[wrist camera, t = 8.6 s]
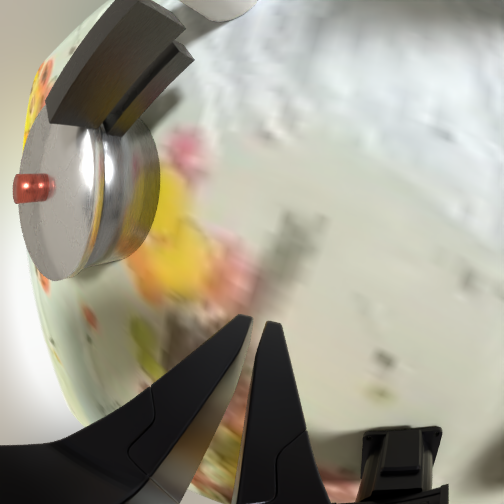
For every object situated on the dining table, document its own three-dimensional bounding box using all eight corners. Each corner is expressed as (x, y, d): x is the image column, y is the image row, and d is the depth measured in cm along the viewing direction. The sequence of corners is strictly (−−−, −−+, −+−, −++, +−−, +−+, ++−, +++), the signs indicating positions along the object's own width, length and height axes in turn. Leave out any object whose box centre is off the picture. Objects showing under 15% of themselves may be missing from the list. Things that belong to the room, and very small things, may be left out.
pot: (267, 139, 19) (220, 117, 13) (88, 297, 31) (47, 310, 25) (182, 25, 20) (136, -1, 15) (52, 195, 32) (15, 197, 27)
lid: (246, 102, 12) (190, 70, 9) (56, 304, 24) (20, 315, 20) (146, -17, 14) (107, -37, 10) (19, 177, 25) (-11, 178, 21)
